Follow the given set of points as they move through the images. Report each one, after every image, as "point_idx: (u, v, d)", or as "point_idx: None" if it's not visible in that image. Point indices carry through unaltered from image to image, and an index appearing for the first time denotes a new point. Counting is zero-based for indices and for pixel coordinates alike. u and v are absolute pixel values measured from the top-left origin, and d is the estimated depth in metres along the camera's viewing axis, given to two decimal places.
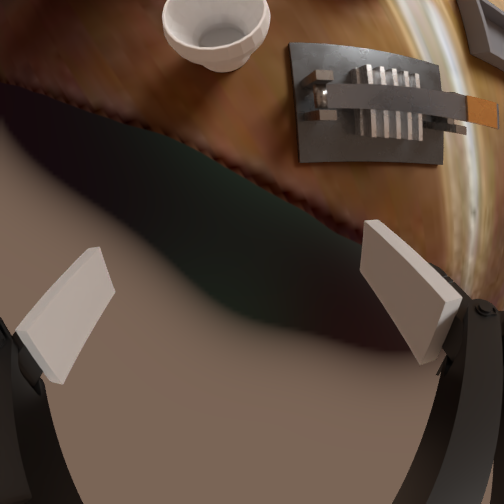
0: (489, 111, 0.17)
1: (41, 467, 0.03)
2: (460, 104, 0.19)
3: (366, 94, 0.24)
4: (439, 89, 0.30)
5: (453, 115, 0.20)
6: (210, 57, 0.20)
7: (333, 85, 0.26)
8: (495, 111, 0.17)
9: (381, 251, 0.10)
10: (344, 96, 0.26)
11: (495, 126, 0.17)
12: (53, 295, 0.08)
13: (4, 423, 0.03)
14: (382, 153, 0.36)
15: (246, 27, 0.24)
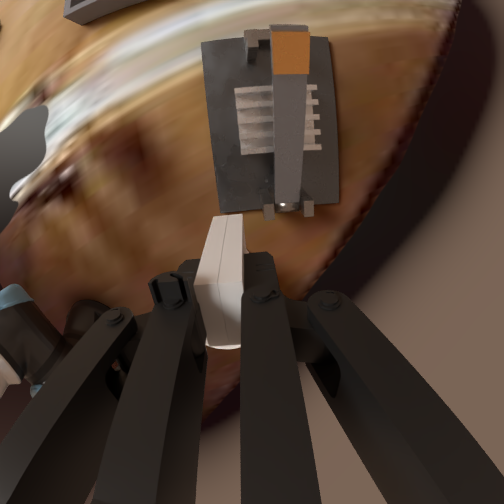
0: (288, 43, 0.16)
1: (175, 473, 0.04)
2: (286, 80, 0.20)
3: (286, 174, 0.29)
4: (234, 40, 0.29)
5: (302, 89, 0.21)
6: None
7: (276, 199, 0.32)
8: (285, 34, 0.16)
9: None
10: (288, 190, 0.31)
11: (307, 35, 0.16)
12: (219, 252, 0.10)
13: (150, 413, 0.04)
14: (327, 116, 0.34)
15: None
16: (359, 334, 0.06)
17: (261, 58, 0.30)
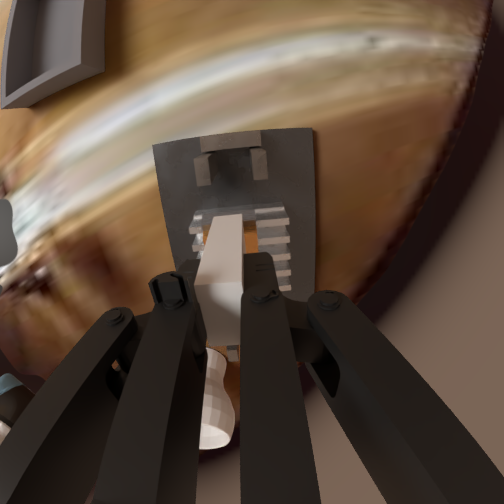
0: None
1: (176, 473, 0.04)
2: None
3: None
4: (191, 141, 0.28)
5: None
6: (232, 430, 0.32)
7: None
8: None
9: None
10: None
11: (254, 238, 0.15)
12: (219, 252, 0.10)
13: (150, 414, 0.04)
14: (305, 234, 0.33)
15: None
16: (359, 334, 0.06)
17: (225, 166, 0.29)
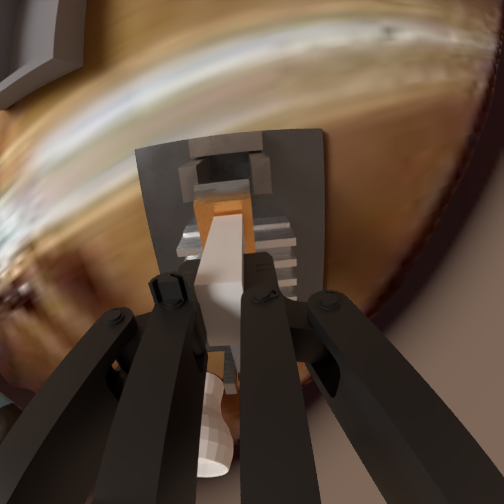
0: None
1: (176, 473, 0.04)
2: None
3: None
4: (180, 145, 0.23)
5: None
6: None
7: (238, 370, 0.27)
8: (213, 206, 0.14)
9: None
10: None
11: (248, 204, 0.14)
12: (219, 252, 0.10)
13: (150, 413, 0.04)
14: (312, 252, 0.29)
15: None
16: (359, 334, 0.06)
17: (220, 173, 0.25)
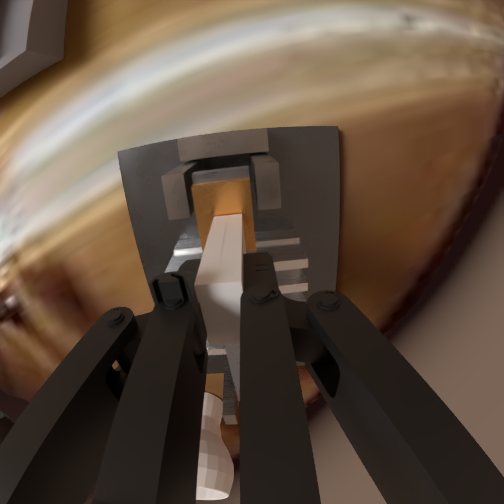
0: (218, 204, 0.14)
1: (175, 473, 0.04)
2: None
3: None
4: (169, 146, 0.20)
5: None
6: (231, 485, 0.24)
7: (239, 397, 0.23)
8: (211, 188, 0.14)
9: None
10: None
11: (247, 186, 0.14)
12: (219, 252, 0.10)
13: (150, 413, 0.04)
14: (324, 270, 0.25)
15: None
16: (358, 334, 0.06)
17: None
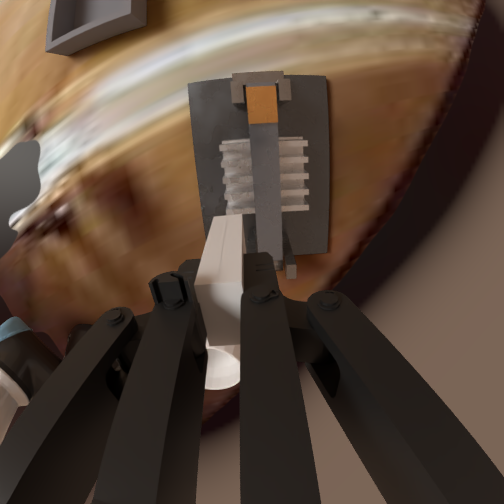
0: (259, 96, 0.24)
1: (175, 473, 0.04)
2: (260, 130, 0.27)
3: (267, 227, 0.32)
4: (223, 81, 0.30)
5: (274, 138, 0.27)
6: None
7: None
8: (256, 88, 0.24)
9: None
10: (270, 246, 0.33)
11: (274, 88, 0.24)
12: (219, 252, 0.10)
13: (150, 413, 0.04)
14: (320, 167, 0.35)
15: None
16: (358, 334, 0.06)
17: None
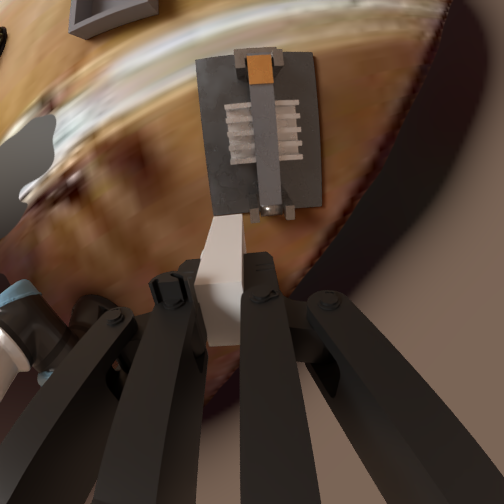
0: (257, 62, 0.28)
1: (176, 473, 0.04)
2: (259, 89, 0.30)
3: (267, 172, 0.35)
4: (225, 58, 0.33)
5: (271, 96, 0.30)
6: None
7: (261, 199, 0.37)
8: (255, 56, 0.27)
9: None
10: (270, 190, 0.37)
11: (269, 56, 0.27)
12: (219, 252, 0.10)
13: (150, 414, 0.04)
14: (311, 127, 0.39)
15: None
16: (358, 334, 0.06)
17: None
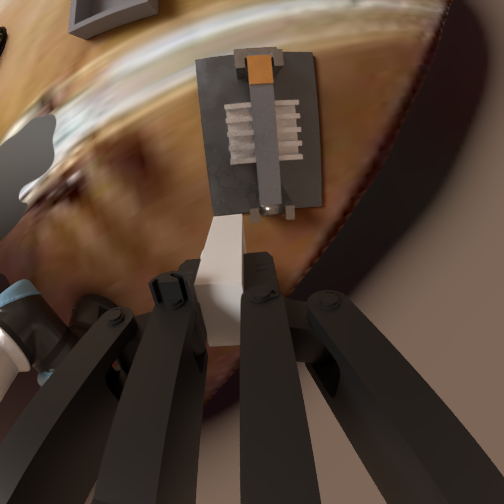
0: (257, 62, 0.28)
1: (175, 473, 0.04)
2: (259, 89, 0.30)
3: (267, 172, 0.35)
4: (225, 58, 0.33)
5: (271, 96, 0.30)
6: None
7: (261, 199, 0.37)
8: (255, 56, 0.27)
9: None
10: (270, 190, 0.37)
11: (269, 56, 0.27)
12: (219, 252, 0.10)
13: (150, 413, 0.04)
14: (311, 127, 0.39)
15: None
16: (358, 334, 0.06)
17: None
